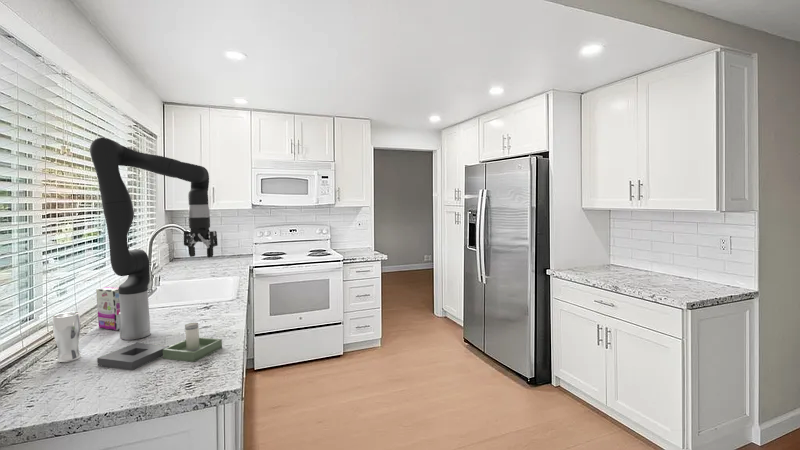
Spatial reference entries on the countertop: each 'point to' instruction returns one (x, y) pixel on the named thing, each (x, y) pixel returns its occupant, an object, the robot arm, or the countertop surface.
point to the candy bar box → (108, 308)
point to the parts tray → (180, 351)
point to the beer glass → (67, 336)
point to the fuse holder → (132, 356)
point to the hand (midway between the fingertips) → (201, 256)
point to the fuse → (192, 337)
